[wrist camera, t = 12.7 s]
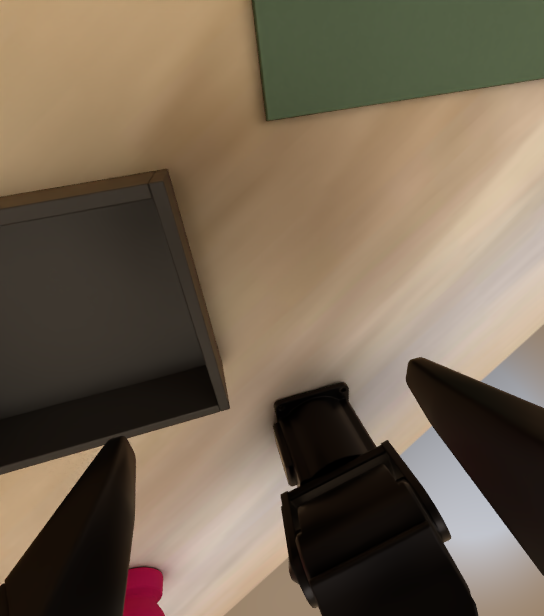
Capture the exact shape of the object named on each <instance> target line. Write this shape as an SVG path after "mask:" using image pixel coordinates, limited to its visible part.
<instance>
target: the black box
mask: <svg viewBox="0 0 544 616" xmlns="http://www.w3.org/2000/svg"><path fill="white" fill-rule="evenodd" d="M228 409H230V405H229V400H228V394H227V388H226V383H225V377H224V371H223V365H222V361H221V357H220V354H219V350H218V347H217V343H216V340H215V336H214V333H213V329H212V325H211V322H210V318H209V315H208V311H207V308H206V304H205V300H204V297H203V293H202V290H201V286H200V283H199V279H198V276H197V272H196V268H195V265H194V261H193V258H192V254H191V251H190V247H189V243H188V240H187V236H186V233H185V229H184V226H183V222H182V219H181V215H180V211H179V208H178V204H177V201H176V197H175V194H174V190H173V186H172V183H171V179H170V176H169V172H168V169H163V170H157V171H151V172H145V173H139V174H133V175H128V176H122V177H116V178H110V179H104V180H98V181H92V182H86V183H80V184H74V185H68V186H62V187H56V188H50V189H44V190H39V191H33V192H27V193H21V194H15V195H9V196H3V197H0V475H1V474H5V473H8V472H12V471H15V470H19V469H22V468H26V467H29V466H33V465H36V464H40V463H43V462H47V461H50V460H54V459H57V458H61V457H64V456H68V455H71V454H75V453H78V452H81V451H85V450H88V449H92V448H95V447H99V446H102V445H105V444H106V442H107V441H108V440H109V439H111V438H115V437H119V436H125V437H126V438H130V437H134V436H137V435H141V434H144V433H148V432H151V431H155V430H158V429H162V428H165V427H168V426H172V425H175V424H179V423H182V422H186V421H189V420H193V419H196V418H200V417H203V416H207V415H210V414H214V413H217V412H220V411H224V410H228Z"/></svg>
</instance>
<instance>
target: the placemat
mask: <svg viewBox="0 0 544 616" xmlns="http://www.w3.org/2000/svg"><path fill="white" fill-rule="evenodd" d="M252 5H253V13H254V22H255V30H256V38H257V47H258V55H259V64H260V72H261V80H262V89H263V97H264V106H265V114H266V121H271V120H277V119H284V118H290V117H297V116H303V115H310V114H316V113H323V112H329V111H336V110H342V109H349V108H355V107H362V106H368V105H375V104H381V103H388V102H394V101H401V100H407V99H414V98H420V97H427V96H434V95H440V94H447V93H453V92H460V91H466V90H473V89H479V88H486V87H492V86H499V85H505V84H512V83H518V82H525V81H531V80H538V79H544V0H252Z"/></svg>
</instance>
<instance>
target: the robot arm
mask: <svg viewBox="0 0 544 616" xmlns="http://www.w3.org/2000/svg"><path fill="white" fill-rule="evenodd" d="M406 382H407V385H408V387H409V388H410V390H411V392H412V393H413V395H414V397H415V398H416V400H417V402H418V403H419V405H420V407H421V408H422V410H423V412H424V413H425V415H426V417H427V418H428V420H429V422H430V423H431V425H432V426H433V428H434V429H435V430H436V432H437V433H438V435H439V436H440V437H441V439H442V440H443V441H444V443H445V444H446V445H447V447H448V448H449V449H450V451H451V452H452V453H453V455H454V456H455V457H456V459H457V460H458V461H459V463H460V464H461V466H462V467H463V468H464V470H465V471H466V472H467V474H468V475H469V476H470V477H471V479H472V480H473V482H474V483H475V484H476V486H477V487H478V489H479V490H480V491H481V493H482V494H483V495H484V497H485V498H486V499H487V501H488V502H489V503H490V505H491V506H492V507H493V509H494V510H495V511H496V513H497V514H498V515H499V517H500V518H501V519H502V521H503V522H504V524H505V525H506V526H507V528H508V529H509V530H510V532H511V533H512V534H513V536H514V537H515V538H516V540H517V541H518V542H519V544H520V545H521V546H522V548H523V549H524V550H525V552H526V553H527V555H528V556H529V557H530V559H531V560H532V561H533V563H534V564H535V565H536V566H537V568H538V569H539V571H540V572H541V573H542V575H543V576H544V408H542V407H540V406H537V405H535V404H533V403H530V402H528V401H525V400H523V399H521V398H518V397H516V396H514V395H511V394H509V393H506V392H504V391H502V390H499V389H497V388H494V387H492V386H490V385H487V384H485V383H483V382H480V381H478V380H475V379H473V378H471V377H468V376H466V375H463V374H461V373H459V372H456V371H454V370H451V369H449V368H447V367H444V366H442V365H439V364H437V363H435V362H432V361H430V360H428V359H425V358H422V357H419V358H415V359H411V360H410V361H409V362H408V367H407V374H406ZM280 406H281V407H280ZM274 408H275V414H276V419H277V423H274V425H273V429H274V434H275V440H276V444H277V448H278V451H279V454H280V458H281V461H282V464H283V467H284V471H285V474H286V477H287V481H288V484H289V485H290V486H295V485H297V488H295V489H293V490H291V491H289V492H288V491H286V492H284V493H283V494H281V501H282V506H281V510H282V516H283V523H284V529H285V535H286V542H287V548H288V554H289V573H290V576H291V579H292V580H293V581H295V582H296V583H298V584H299V585H300V587H301V589H302V591H303V593H304V595H305V597H306V599H307V600H308V602H309V604H310V605H311V606H312V607H313V608H316V607H319V609H320V612H321V614H322V616H478V612H477V608H476V604H475V602H474V600H473V598H472V597H471V594H470V590H469V588H468V585H467V584H466V582H465V580H464V578H463V576H462V575H461V573H460V571H459V569H458V568H457V566H456V564H455V562H454V561H453V559H452V557H451V555H450V554H449V552H448V550H447V548H446V547H445V545H444V542H446V541H448V540H450V539H451V535H450V533H449V530H448V528H447V526H446V524H445V522H444V520H443V518H442V517H441V515H440V513H439V512H438V510H437V508H436V506H435V505H434V503H433V502H432V500H431V498H430V497H429V495H428V494H427V492H426V491H425V489H424V488H423V486H422V485H421V484H420V483H419V481H418V480H417V478H416V477H415V476H414V475H413V473H412V472H411V470H410V469H409V468H408V467H407V465H406V464H405V462H404V461H403V460H402V458H401V457H400V456H399V455H398V453H397V452H396V451H395V449H394V448H393V447H392V445H391V444H390V443H389V441H388V440H387V441H385V442H383V443H381V445H380V446H378V447H376V445H375V444H374V442H373V441H372V439H371V437H370V436H369V434H368V432H367V431H366V429H365V428H364V426H363V424H362V423H361V421H360V419H359V418H358V416H357V415H356V413H355V411H354V410H353V408H352V406H351V405H350V403H349V388H348V386H347V384H346V383H344V382H342V383H338V384H335V385H331V386H328V387H324V388H321V389H317V390H314V391H310V392H307V393H304V394H300V395H297V396H293V397H290V398H286V399H283V400H279V401H277V402H276V403H275V404H274ZM135 483H136V458H135V453H134V451H133V449H132V447H131V446H130V444H129V442H128V440H127V438H126V437H125V436H119V437H115V438H111V439H109V440H108V441H107V442H106V444H105V445H104V446H103V448H102V449H101V450H100V452H99V453H98V454H97V456H96V457H95V458H94V460H93V461H92V463H91V464H90V465H89V467H88V468H87V469H86V471H85V472H84V473H83V475H82V476H81V477H80V479H79V480H78V482H77V483H76V484H75V486H74V487H73V488H72V490H71V491H70V492H69V494H68V495H67V496H66V498H65V499H64V501H63V502H62V503H61V505H60V506H59V507H58V509H57V510H56V511H55V513H54V514H53V515H52V517H51V518H50V519H49V521H48V522H47V524H46V525H45V526H44V528H43V529H42V530H41V532H40V533H39V534H38V536H37V537H36V538H35V540H34V541H33V543H32V544H31V545H30V547H29V548H28V549H27V551H26V552H25V553H24V555H23V556H22V557H21V559H20V560H19V562H18V563H17V564H16V566H15V567H14V568H13V570H12V571H11V572H10V574H9V575H8V576H7V578H6V579H5V583H4V584H2V585H1V586H0V616H123V610H124V602H125V594H126V586H127V578H128V570H129V562H130V554H131V545H132V537H133V529H134V520H135Z"/></svg>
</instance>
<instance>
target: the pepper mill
mask: <svg viewBox="0 0 544 616" xmlns="http://www.w3.org/2000/svg"><path fill="white" fill-rule="evenodd" d="M162 590H163V575H162V573H161V572H160V571H158V570H156V569H154V568H147V567H140V568H133V569H129V570H128V578H127V586H126V594H125V602H124V610H123V616H165V615H164V613H163V611H162V609H161V608H160V607H159V605H158V604H157V603H158V601H159V600H160V599H161V597H162Z"/></svg>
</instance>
